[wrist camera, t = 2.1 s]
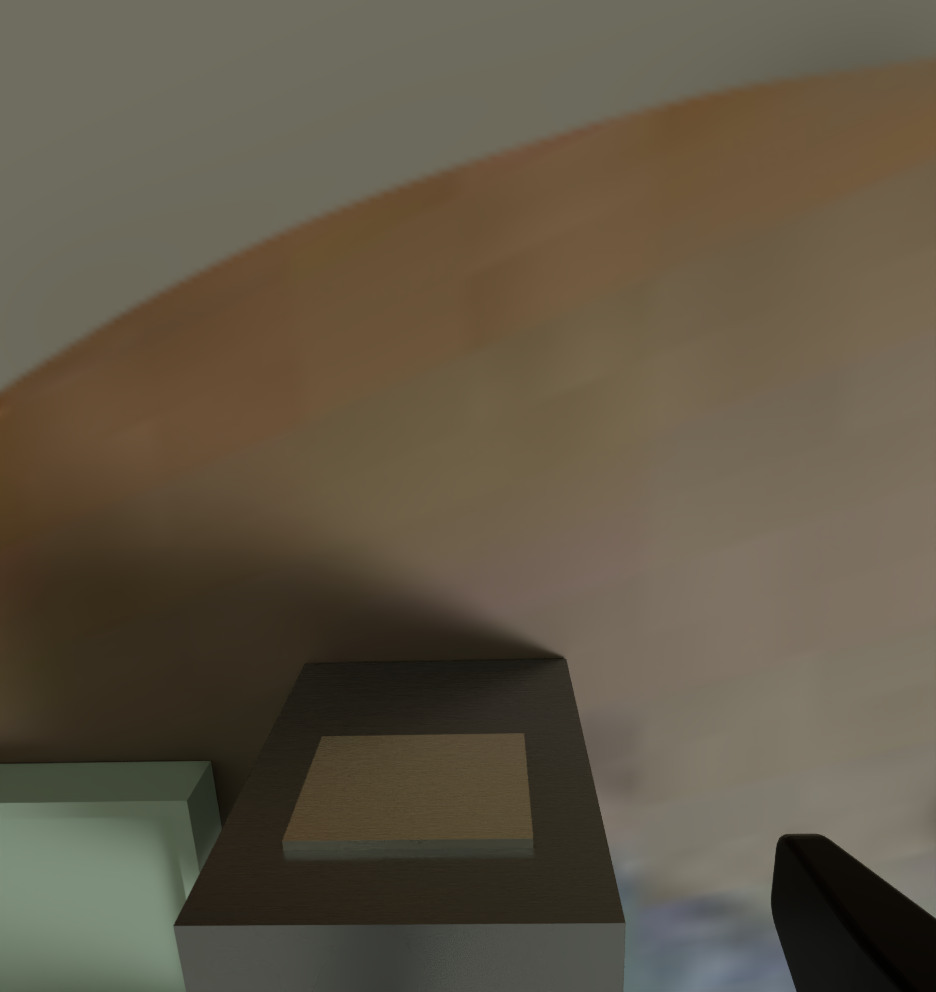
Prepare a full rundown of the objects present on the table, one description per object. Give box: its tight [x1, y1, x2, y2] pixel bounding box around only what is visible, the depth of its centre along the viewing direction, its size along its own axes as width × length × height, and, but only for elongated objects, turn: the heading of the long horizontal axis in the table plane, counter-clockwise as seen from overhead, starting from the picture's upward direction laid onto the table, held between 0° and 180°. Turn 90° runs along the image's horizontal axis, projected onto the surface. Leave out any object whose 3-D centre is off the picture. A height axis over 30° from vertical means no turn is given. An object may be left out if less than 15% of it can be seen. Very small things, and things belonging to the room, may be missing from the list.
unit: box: [173, 659, 625, 992], centre depth 15 cm, size 8×7×8 cm
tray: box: [0, 761, 222, 992], centre depth 20 cm, size 9×9×2 cm
